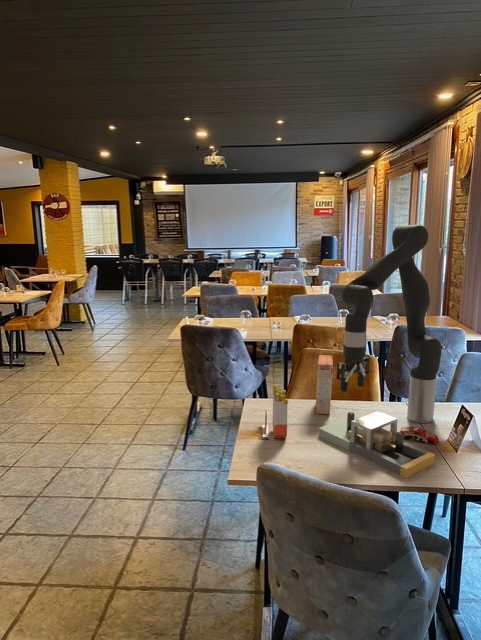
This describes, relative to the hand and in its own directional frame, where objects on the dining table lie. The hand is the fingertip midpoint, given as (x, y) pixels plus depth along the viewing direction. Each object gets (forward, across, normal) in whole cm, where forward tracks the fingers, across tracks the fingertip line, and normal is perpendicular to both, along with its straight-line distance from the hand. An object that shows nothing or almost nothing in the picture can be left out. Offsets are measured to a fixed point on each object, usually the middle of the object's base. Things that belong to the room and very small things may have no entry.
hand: (352, 388), depth 166 cm
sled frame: (+15, 0, +10) cm, 18 cm away
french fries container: (+19, +18, -17) cm, 31 cm away
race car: (+19, -19, +15) cm, 31 cm away
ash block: (+15, 0, +10) cm, 18 cm away
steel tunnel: (+15, 0, +10) cm, 18 cm away
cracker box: (+19, -13, -25) cm, 34 cm away
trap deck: (+18, 0, +10) cm, 21 cm away
